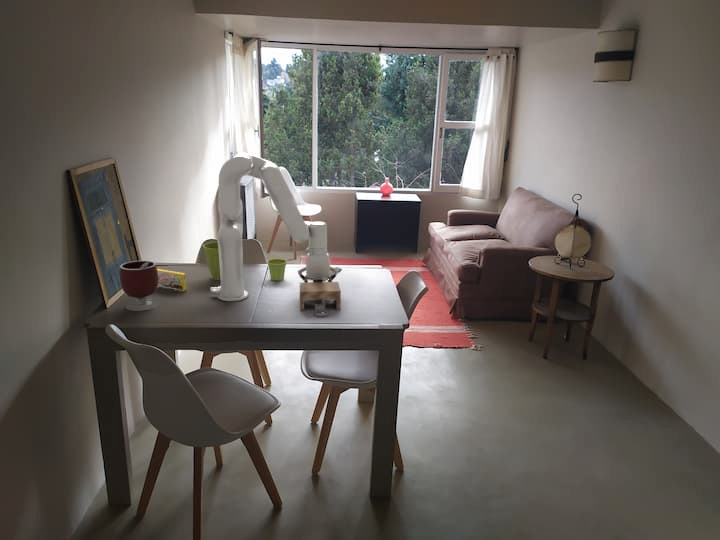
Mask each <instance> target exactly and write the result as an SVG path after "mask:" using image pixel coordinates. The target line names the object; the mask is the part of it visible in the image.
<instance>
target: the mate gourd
mask: <svg viewBox="0 0 720 540" xmlns="http://www.w3.org/2000/svg"><path fill="white" fill-rule="evenodd" d="M157 269H158V268H157V264H156V262H155V261H152V260H134V261H127V262H124V263H122V264H120V270H119V283H120V285H121V289H122V290H123V292H124V294H126V295H127V296H128V297H130V298H134V299H135V298H136V301H137V304H138V305H140V306H142V305H144V306H148V305H151V304H152V302H151V301H146V299H147V297H149V296H152V295H153V294H154V293H155V291H156V290H157V289H158V287H157V286H158V271H157ZM144 306H142V307H144Z"/></svg>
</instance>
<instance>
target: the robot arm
mask: <svg viewBox="0 0 720 540" xmlns="http://www.w3.org/2000/svg"><path fill="white" fill-rule="evenodd" d="M246 175H247V176H250V177H253V178H255V179H258V180H260V181H261V182H262V184H263V187H264V189H265V190H266V192H267V193H268V195H269V197H270V199H271V201H272V203H273V204H274V207H275V209H276V210H277V212H278V214H279V216H280V218H281V220H282V221H283V224H284V225H285V228H286V229H287V231H288V232H289V236H291V238H292V240H293V241H294V242H296V243H299V244H303V243H305V242H307V241H308V247H307V248H305V252H308V253H307V255H306V265H305V266H304V267H302V268H300V269H298V270H297V274H298V275H299V277H300V279H302V281H303V282H308V280H310V279H309V278H328V279H329V280H327V282H333V280H334V279H335V278H336V277H337V275H338V273H339V271H338V270H337V269H335V268H336V267H333V266H331V263H330V262H331V260H330V255H329V253H328V226H327V225H328V224H327V223H326V222H324V221H321V220H320V221H306V220H304V218H303V216H302V214H301V213H300V209H299V207H298V205H297V202H296V199H295V196H294V195H293V193H292V190H291V189H290V187H289V185H288V184H287V181H286V179H285V178H284V175H283V173H282V172H281V169H280V167H279V166H278V165H277V163H274V162H272V161H270V160H267V159H264V158H262V157H259V156H256V155H254V154H251V153H248V152H243V151H241V152H238V153H237V154H235V155H234V156H232V157H231V158H229V159H228V160H226V161H225V162H224V164H223V165H222V166H221V167H220V170H219V175H218V190H217V191H218V196H217V197H218V201H217V202H218V204H217V210H218V213H219V229H218V231H217V242H218V248H219V262H220V279H221V280H220V286H218V287H217V286H214V287H213V286H211V287H210V293H212V294H217V298H218V300H220V301H225V302H234V301H235V302H237V301H243V300H245V299H246V298H248V297H249V293H248V291H247V290H245V278H244V277H245V276H244V257H243V234H244V233H243V232H244V226H243V225H244V222H243V221H244V217H243V214H244V213H243V212H244V211H243V210H244V208H243V207H244V206H243V201H242V199H241V180H242V178H243V177H245V176H246ZM330 270H331V271H333V272H334V274H333V275H332V276H330ZM304 272H305V275H303V273H304Z"/></svg>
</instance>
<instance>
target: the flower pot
mask: <svg viewBox="0 0 720 540" xmlns="http://www.w3.org/2000/svg"><path fill="white" fill-rule="evenodd" d="M202 247H203V252H204V253H203V254H204V257H205V261H206V264H207V267H208V271H209V272H210V275H211V277H212V279H213V278H214V279H218V280H217V281H221V279H220V262H219V248H218V241H210V242H207V243H205V244H203V245H202ZM214 279H213V280H214Z"/></svg>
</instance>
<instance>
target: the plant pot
mask: <svg viewBox="0 0 720 540" xmlns="http://www.w3.org/2000/svg"><path fill="white" fill-rule="evenodd" d="M266 263H267V266H268V270H269V275H270V276H269V277H270V280H271V281H275V282H276V281H280V280H281V281H284V279H285V273H286V266H287V263H288V260H286V259H284V258H271V259H267V260H266Z"/></svg>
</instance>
